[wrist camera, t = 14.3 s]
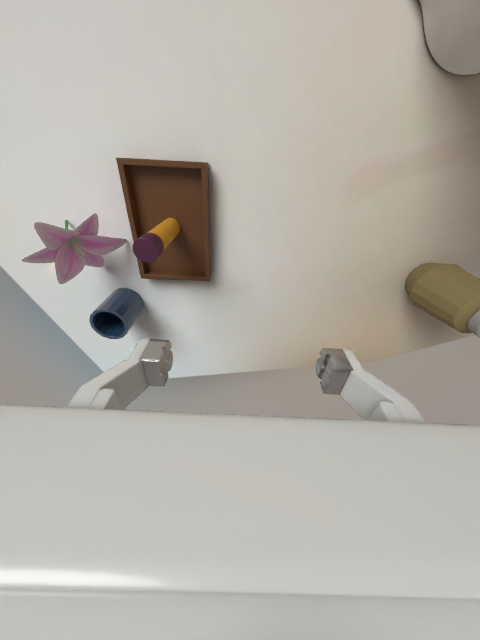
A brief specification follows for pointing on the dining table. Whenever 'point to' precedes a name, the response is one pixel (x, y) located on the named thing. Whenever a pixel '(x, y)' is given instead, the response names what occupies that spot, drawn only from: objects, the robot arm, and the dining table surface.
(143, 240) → the glue stick
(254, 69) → the dining table surface
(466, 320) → the squeeze bottle
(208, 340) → the dining table surface
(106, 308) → the pen cup
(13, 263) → the dining table surface
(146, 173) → the desk tray
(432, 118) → the dining table surface
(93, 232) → the lily
